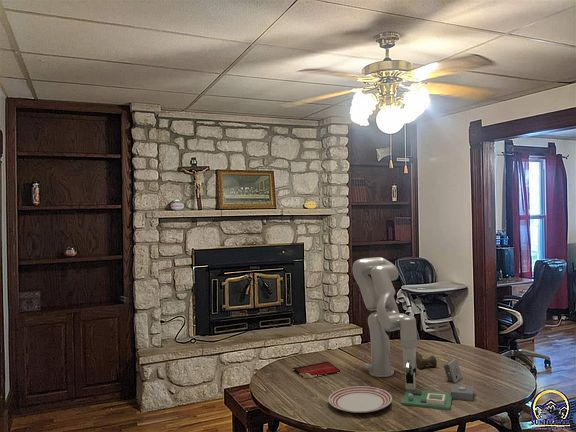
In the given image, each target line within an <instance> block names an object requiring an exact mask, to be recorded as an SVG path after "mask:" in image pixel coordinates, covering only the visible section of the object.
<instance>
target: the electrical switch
mask: <svg viewBox="0 0 576 432" xmlns="http://www.w3.org/2000/svg"><path fill="white" fill-rule="evenodd" d="M443 369H444V371H445V375H446V378H447V381H448V382H452V383H454V384H456V383H457V382H459V380H461V379H462V378H463V375H462V372H461V369H460V365H459V363H458V360H457V358H454V359H452V360H450V361H448V362H446V363H445V364H444V365H443Z"/></svg>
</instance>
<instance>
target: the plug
mask: <svg viewBox="0 0 576 432" xmlns="http://www.w3.org/2000/svg"><path fill="white" fill-rule="evenodd" d="M412 375H413V384H409V383H406V372H405V374H404V377H405V378H404V379H405V380H404V381H405V382H404V384H405V390H407V389H410V390H416V386H417V385H416V383H417V382H416V377H415V372H414V371H413V370H412Z"/></svg>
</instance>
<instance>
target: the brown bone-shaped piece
mask: <svg viewBox="0 0 576 432" xmlns="http://www.w3.org/2000/svg"><path fill="white" fill-rule="evenodd" d="M437 363H438V362H437V358H436V357H435V356H434V355H430V356H429V357H428V358H426V359H425V358H423V356H422V354H421V353H419V352H418V351H416V367H417V368H418V369H419V370H421V369H422V368H424V367H427V366H428V367H429V366H430V367H432V368H436V367H437V366H438V364H437Z"/></svg>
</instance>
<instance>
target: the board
mask: <svg viewBox="0 0 576 432" xmlns="http://www.w3.org/2000/svg"><path fill="white" fill-rule="evenodd" d="M452 401H453V399H452V396H451V392H450V393H449V392H443V391H442V392H441V391H440V392H438V391H431V390H430V391H429V390H418V389H415V390H411V389H405V393H404V395H403V397H402V400H401V402H400V403H401V404H400V405H401V406H408V407H418V408H419V407H420V408H428V409H429V408H430V409H439V410H447V411H450V410H451V406H452Z"/></svg>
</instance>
